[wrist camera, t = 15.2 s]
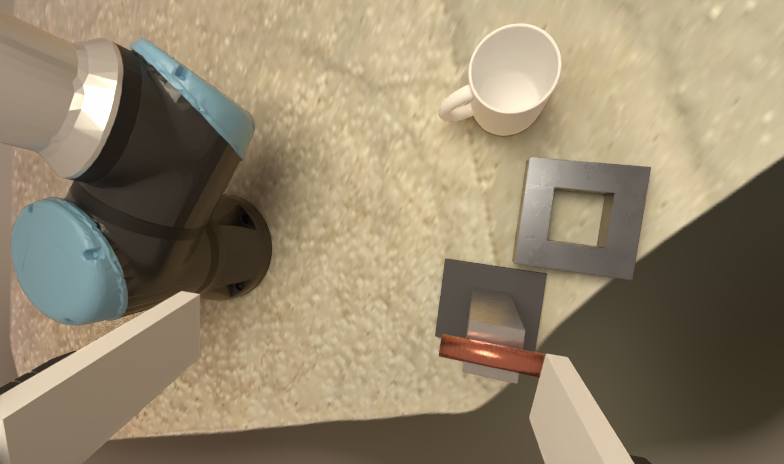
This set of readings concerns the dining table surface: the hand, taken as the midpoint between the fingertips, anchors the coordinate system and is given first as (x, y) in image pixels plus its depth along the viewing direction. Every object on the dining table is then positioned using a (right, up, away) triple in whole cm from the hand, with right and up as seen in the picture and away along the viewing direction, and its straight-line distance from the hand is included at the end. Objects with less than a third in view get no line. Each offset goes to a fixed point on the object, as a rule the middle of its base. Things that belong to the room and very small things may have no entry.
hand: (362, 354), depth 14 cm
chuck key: (+13, -5, +31) cm, 34 cm away
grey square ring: (+22, +6, +29) cm, 37 cm away
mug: (+13, +20, +31) cm, 39 cm away
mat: (+13, -5, +31) cm, 34 cm away
